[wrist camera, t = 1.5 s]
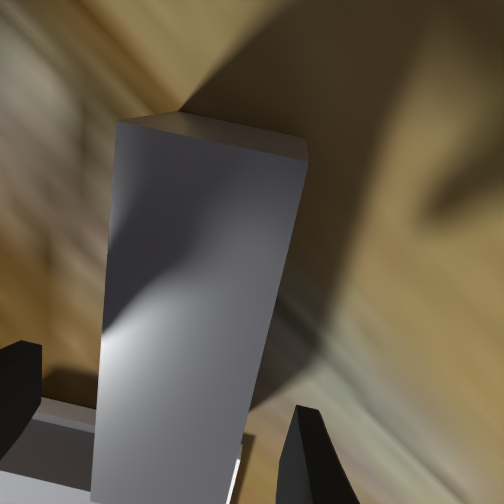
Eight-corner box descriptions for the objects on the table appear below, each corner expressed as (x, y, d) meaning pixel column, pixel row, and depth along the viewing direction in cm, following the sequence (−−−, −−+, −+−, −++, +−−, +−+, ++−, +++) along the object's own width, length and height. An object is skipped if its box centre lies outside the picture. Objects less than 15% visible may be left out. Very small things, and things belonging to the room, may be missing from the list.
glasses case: (144, 394, 21) (90, 501, 16) (179, 110, 16) (117, 120, 11) (239, 416, 21) (218, 532, 16) (305, 137, 16) (309, 162, 11)
